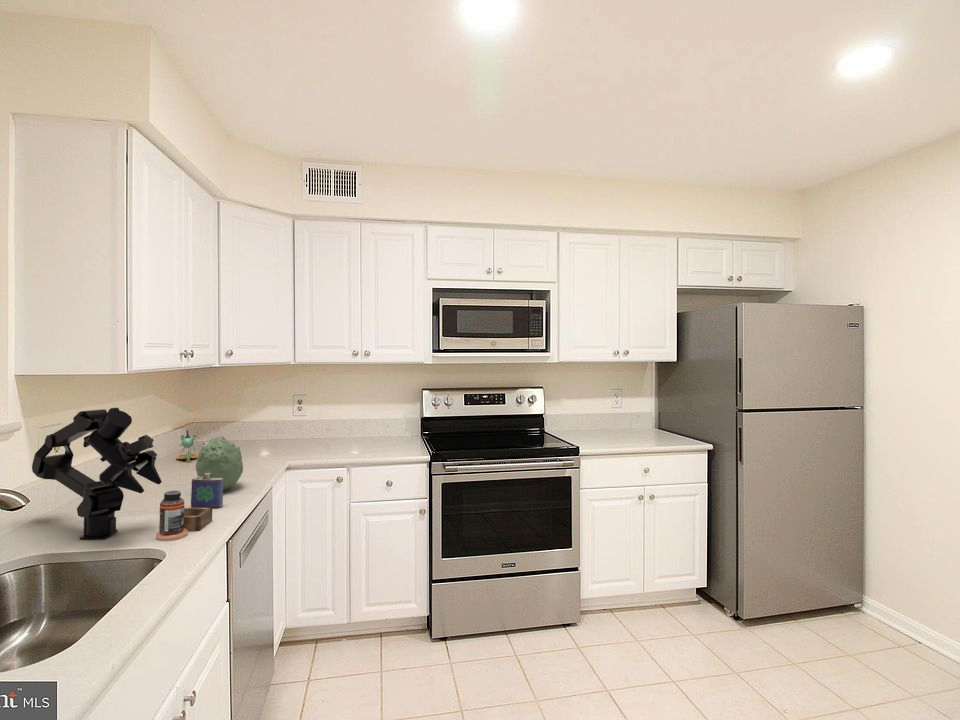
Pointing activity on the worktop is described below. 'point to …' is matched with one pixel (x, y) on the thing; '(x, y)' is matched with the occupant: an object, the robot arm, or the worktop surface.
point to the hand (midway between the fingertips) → (151, 487)
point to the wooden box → (197, 518)
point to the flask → (207, 492)
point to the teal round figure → (187, 443)
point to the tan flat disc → (171, 536)
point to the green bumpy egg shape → (220, 461)
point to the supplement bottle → (171, 513)
